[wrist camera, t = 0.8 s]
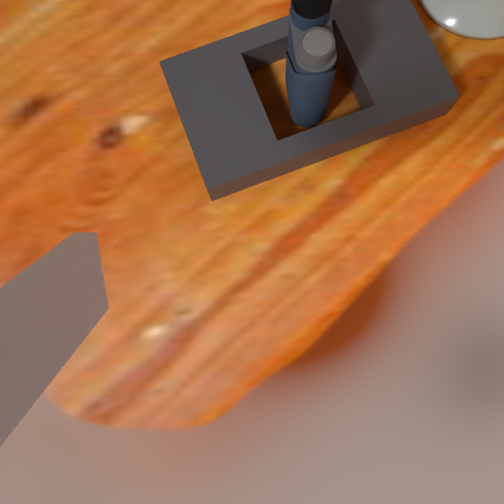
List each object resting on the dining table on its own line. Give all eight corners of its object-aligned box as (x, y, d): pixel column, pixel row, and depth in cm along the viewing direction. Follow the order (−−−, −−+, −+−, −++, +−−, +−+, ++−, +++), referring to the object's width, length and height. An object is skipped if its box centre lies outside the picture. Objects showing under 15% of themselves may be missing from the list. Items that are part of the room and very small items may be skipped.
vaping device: (316, 63, 35) (340, -78, 24) (326, 128, 34) (356, 14, 23) (282, 67, 36) (289, -72, 24) (291, 132, 34) (302, 21, 23)
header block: (166, 81, 36) (159, 61, 33) (389, 1, 36) (398, -24, 34) (211, 201, 34) (207, 189, 31) (446, 114, 34) (460, 96, 32)
